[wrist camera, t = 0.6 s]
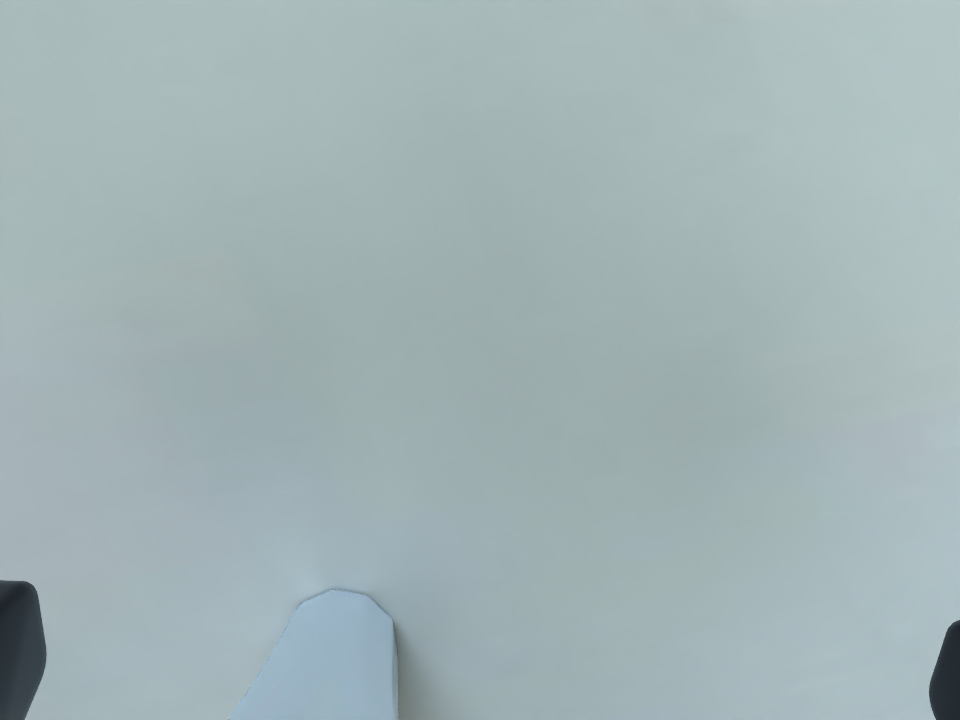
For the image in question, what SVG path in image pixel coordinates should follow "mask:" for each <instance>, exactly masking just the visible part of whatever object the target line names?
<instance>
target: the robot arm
mask: <svg viewBox="0 0 960 720" xmlns="http://www.w3.org/2000/svg"><path fill="white" fill-rule="evenodd" d="M45 664H46V644H45V637H44V631H43V625H42V618H41V612H40V605H39V599H38V595H37V591H36V589H35V587H34V586H33V585H32V584H30V583H28V582H25V581H4V580H0V720H25V717H26V715H27V713H28V710H29V708H30V705H31V703H32V701H33V698H34V696H35V693H36V691H37V689H38V686H39V684H40V681H41V679H42V676H43V673H44V669H45ZM929 697H930V703H931V707H932V711H933V713H934V716H935V718H936V720H960V620H958V621H956V622H954V623H952V625H951V626H950V627H949V628H948V630H947V632H946V635H945V638H944V641H943V644H942V647H941V651H940V654H939V657H938V660H937V663H936V666H935V669H934V672H933V675H932V678H931V681H930V688H929Z"/></svg>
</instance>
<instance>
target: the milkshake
mask: <svg viewBox="0 0 960 720" xmlns="http://www.w3.org/2000/svg"><path fill="white" fill-rule="evenodd" d="M228 720H398V658H397V648H396V641H395V635H394V627H393V620H392V619H391V618H390V617H389V616H388V615H387V614H386V613H385V612H384V611H383V610H382V609H381V608H380V607H379V606H378V605H377V604H376V603H375V602H374V601H373V600H372V599H371V598H370V597H369V596H368V595H365V594H359V593H353V592H347V591H341V590H336V589H331V590H329V591H327V592H325V593H322V594H320V595H318V596H316V597H314V598H311V599H309V600H307V601H305V602H302V603H300V604H299V606H298V607H297V609H296V611H295V612H294V614H293V616H292V617H291V619H290V621H289V623H288V624H287V626H286V628H285V629H284V631H283V633H282V634H281V636H280V638H279V640H278V641H277V643H276V645H275V646H274V648H273V650H272V652H271V653H270V655H269V657H268V658H267V660H266V662H265V663H264V665H263V667H262V668H261V670H260V672H259V674H258V675H257V677H256V678H255V680H254V682H253V683H252V685H251V687H250V688H249V690H248V691H247V693H246V694H245V696H244V697H243V698H242V700H241V701H240V703H239V704H238V706H237V707H236V708H235V710H234V711H233V713H232V714H231V715H230V717H229V718H228Z"/></svg>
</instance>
